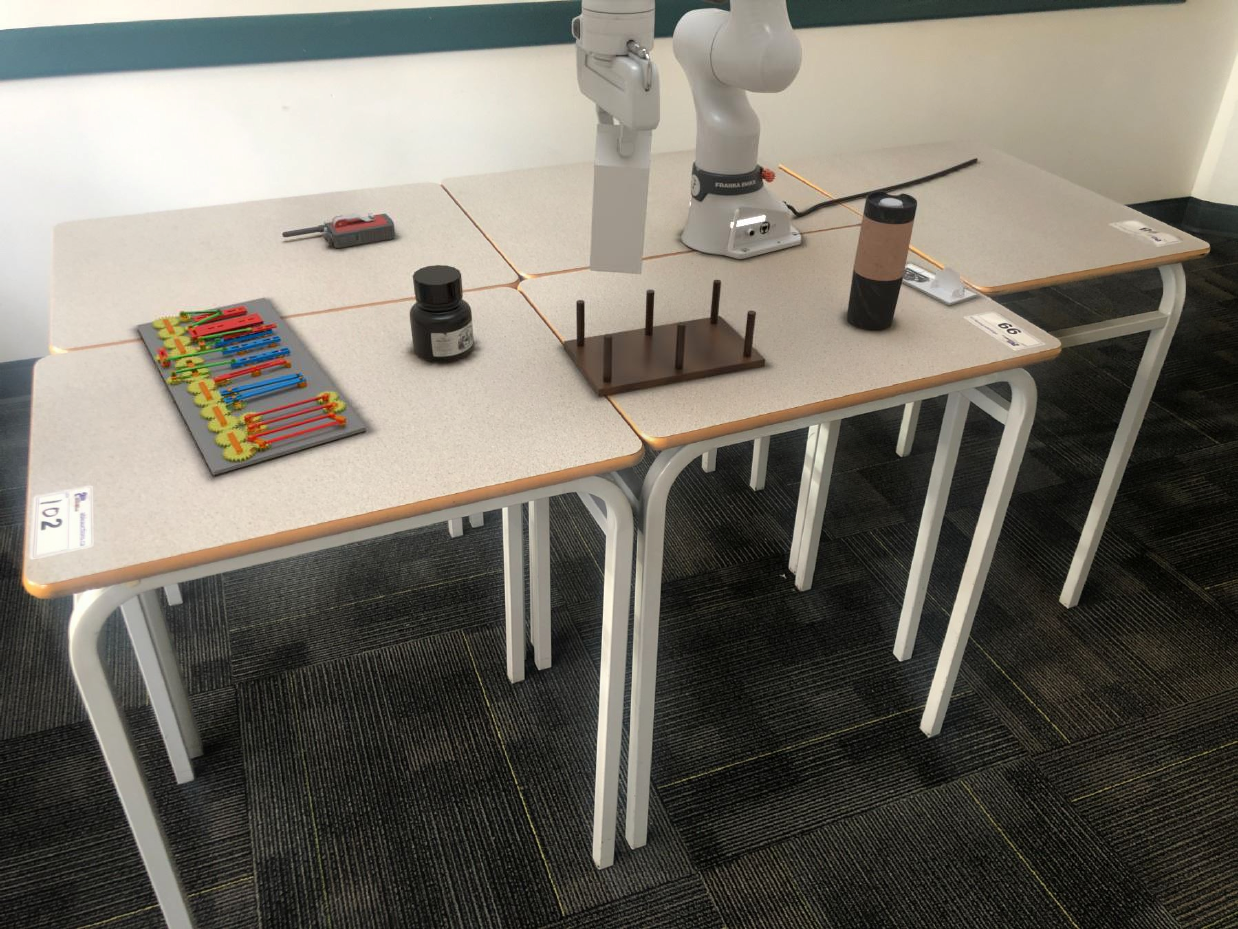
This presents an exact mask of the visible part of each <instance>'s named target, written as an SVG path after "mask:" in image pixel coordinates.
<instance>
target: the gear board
mask: <svg viewBox="0 0 1238 929" xmlns="http://www.w3.org/2000/svg"><path fill="white" fill-rule="evenodd" d="M136 327H137V330H138V332H139V333H140V336H141V337H142V339H143V341H144V343H145V345H146V346H147V349H148V351H149V353H150V355H151V356H152V357H151V358H153V359H152V360H154V363H155V364H156V366H157V368H158V370H159V372H160V374H161V377H162V378H163V380H164V382H165V385H166V386H167V388H168V390H169V392H170V394H171V396H172V397H173V399H174V401H175V403H176V406H177V407H178V409H179V412H180V414H181V415H182V417H183V419H184V421H185V423H186V425H187V427H188V429H189V431H190V433H191V434H192V437H193V438H194V441H195V442H196V445H197V446H198V449H199V450H200V452H201V454H202V456H203V458H204V460H205V462H206V463H207V466H208V468H209V470H210V472H211V474H212V475H213V476H216V475H221V474H223V473H227V472H231V471H234V470H237V469H240V468H244V467H247V466H250V465H254V464H257V463H261V462H265V461H268V460H270V459H274V458H278V457H281V456H285V455H288V454H290V453H295V452H298V451H301V450H305V449H309V448H311V447H316V446H318V445H322V444H325V443H328V442H332V441H335V440H338V439H343V438H345V437H350V436H353V435H356V434H359V433H363V432H366V431H367V426H365V423H364V422H363V421H362V420H361V419H360V418H359V416H358V415H357V413H356V412H355V411H354V410H353V408H352V407H351V406H350V405H349V404H348V402H347V400H345V398H344V397H343V396H342V394H341V393H340V392H339V391H338V389H337V388H336V387H335V386H334V385H333V383H332V382H331V381H330V379H329V378H328V377H327V376H326V374H325V373H324V372H323V370H322V369H321V368H320V367H319V365H318V364H317V362H316V361H315V360H314V359H313V358H312V356H311V355H310V353H309V352H308V351H307V350H306V348H304V346H303V345H302V343H301V342H300V341H299V339H298V338H297V337H296V336H295V334H293V332H292V331H291V329H290V328H289V327H288V325H287V324H286V323H285V322H284V321H283V319H282V317H280V315H279V314H278V313H277V311H276V310H275V309H274V307H272V305H271V304H270V302H269V301H268V300H267V299H266V297H261V298H257V299H251V300H248V301H243V302H238V303H234V304H229V305H225V306H224V305H223V306H220V307H219V306H218V307H215V308H211V309H210V308H209V309H206V310H191V311H190V310H189V311H186V310H185V311H184V310H180V311H179V313H178V316H170V315H169V316H165V317H159V318H157V319H155V320H153V321H151V322H146V323H142V324H137V325H136Z"/></svg>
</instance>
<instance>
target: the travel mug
mask: <svg viewBox="0 0 1238 929" xmlns="http://www.w3.org/2000/svg"><path fill="white" fill-rule="evenodd" d="M865 197H866V198H865V201H864V207H863V213H862V218H861V224H860V230H859V235H858V241H857V246H856V252H855V258H854V263H853V268H852V275H851V284H850V290H849V291H850V292H849V298H848V304H847V305H848V306H847V312H846V313H847V314H846V320H847V322H848V323H849V324H850V325H851V326H852V327H854V328H856V329H860V330H863V331H869V332H880V331H884V330H885V331H886V330H887V329H889V328H890V327H892V324H893V320H894V317H895V314H896V308H897V305H898V300H899V296H900V292H901V287H902V284H903V282H902V280H903V275H904V271H905V265H906V264H907V259H908V256H909V255H908V254H909V249H910V244H911V238H912V234H913V228H914V224H915V218H916V213H917V209H918V200H917V199H916V198H915V197H914V196H912V195H911V194H908V193H900V194H897V195H896V194H889V193H888V192H887V191H877V192H872V193H870V194H868V195H867V196H865Z"/></svg>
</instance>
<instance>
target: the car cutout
mask: <svg viewBox="0 0 1238 929" xmlns="http://www.w3.org/2000/svg"><path fill="white" fill-rule="evenodd" d="M902 284H905V285H907V286H909V287H910V288H913V289H915V290H917V291H919V292H921V293H923V294H925V295H927V296H929V297H931V298H933V299H934V300H937V301H938V302H941V303H943V304H945V305H947V306H952V305H956V304H958V303H961V302H964V301H968V300H972V299H973V298H977V296H978V294H977V293H975V292H973V291H971V290H970V289H969V290H968V289H966V288H965V282H964V280H963V279H961V278H960V273H959V271H957V270H956V269H954V268H952V267H948V266H945V267H944V268H943V269H938V270H936V272H935V273H933V272H930V271H928V270H926V269H924V268H922V267H919V266H918V265H916V264H913V263H911V262H910V263H906V265H905V271H904V275H903V280H902Z"/></svg>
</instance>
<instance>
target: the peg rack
mask: <svg viewBox="0 0 1238 929" xmlns="http://www.w3.org/2000/svg"><path fill="white" fill-rule="evenodd" d="M721 290H722V280H721V279H714V280H713V281H712V291H711V305H710V317H703V318H697V319H691V320H685V321H678V322H673V323H666V324H659V325H655V326H654V317H655V316H654V315H655V314H654V312H655V290H653V289H647V290H646V293H645V316H644V317H645V318H644V319H645V320H644V327H642V328H636V329H630V330H624V331H619V332H612V333H605V334H600V335H593V336H588V337H587V336H585V335H586V328H585V327H586V325H585V324H586V314H585V313H586V306H585V305H586V304H585V303H586V301H585V300H583V299H578V300H576V302H575V303H576V304H575V309H576V310H575V311H576V312H575V313H576V315H575V316H576V321H575V322H576V338H574V339H569V340H563V349H564V351H565V352H566V353H567V354H568V356H569V357H570V358H571V360H572V362H573V363H574V364H575V365H576V367H577V368H578V370H579V371H580V372H581V374H582V375H583V377H584V379H586V381H587V383H588V384H589V386H590V387H591V388H592V390H593V391H594V393H595V394H596V395H597V396H598V397H604V396H610V395H615V394H621V393H627V392H631V391H637V390H643V389H648V388H653V387H659V386H664V385H670V384H675V383H681V382H686V381H690V380H691V381H692V380H696V379H701V378H708V377H712V376H713V377H714V376H718V375H723V374H729V373H734V372H740V371H745V370H752V369H756V368H757V369H758V368H762V367H765V364H766V358H765V357H764V356H762V354H761V353H759V352H758V351H757V350H756V349H755V348H754V347H753V344H754V333H755V326H756V316H757V312H756V311H755V310H751V309H750V310H748V311H747V313H746V314H747V315H746V324H745V333H744V337H743V336H742V335H741V334H740V333H739V332H738V331H736V329H734V328H733V326H732V325H730V323H729V322H727V321H726V320H725V319H724V318H723V317H722V316H721V315H719V314H720V313H719V311H720V300H721Z"/></svg>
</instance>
